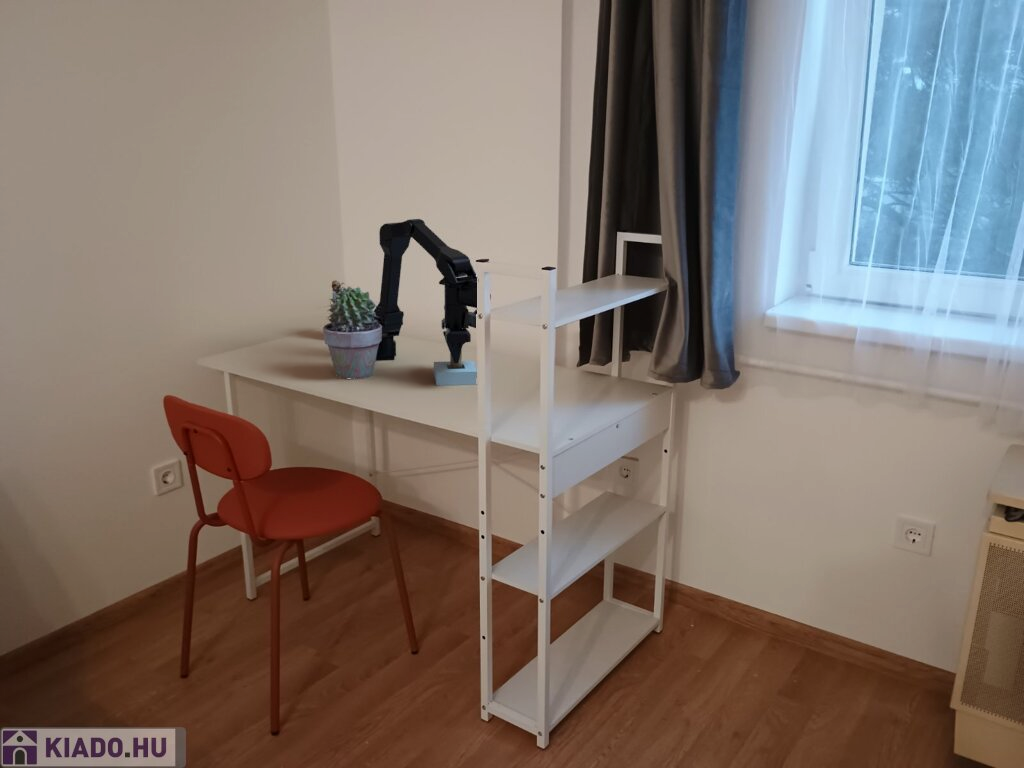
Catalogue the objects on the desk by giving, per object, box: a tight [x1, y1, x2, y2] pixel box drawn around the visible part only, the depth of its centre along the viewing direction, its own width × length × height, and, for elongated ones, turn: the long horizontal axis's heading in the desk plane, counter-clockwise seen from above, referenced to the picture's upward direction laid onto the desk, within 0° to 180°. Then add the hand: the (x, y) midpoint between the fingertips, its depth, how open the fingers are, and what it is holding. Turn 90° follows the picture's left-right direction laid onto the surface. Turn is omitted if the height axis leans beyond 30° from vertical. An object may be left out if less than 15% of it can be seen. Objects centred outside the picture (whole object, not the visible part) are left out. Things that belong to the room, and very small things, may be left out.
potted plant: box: [318, 280, 390, 380], centre depth 236 cm, size 18×20×25 cm
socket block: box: [433, 360, 478, 387], centre depth 236 cm, size 11×11×4 cm
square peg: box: [449, 349, 463, 369], centre depth 235 cm, size 3×3×9 cm
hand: (455, 361), depth 236 cm, fingers open, 4 cm apart
